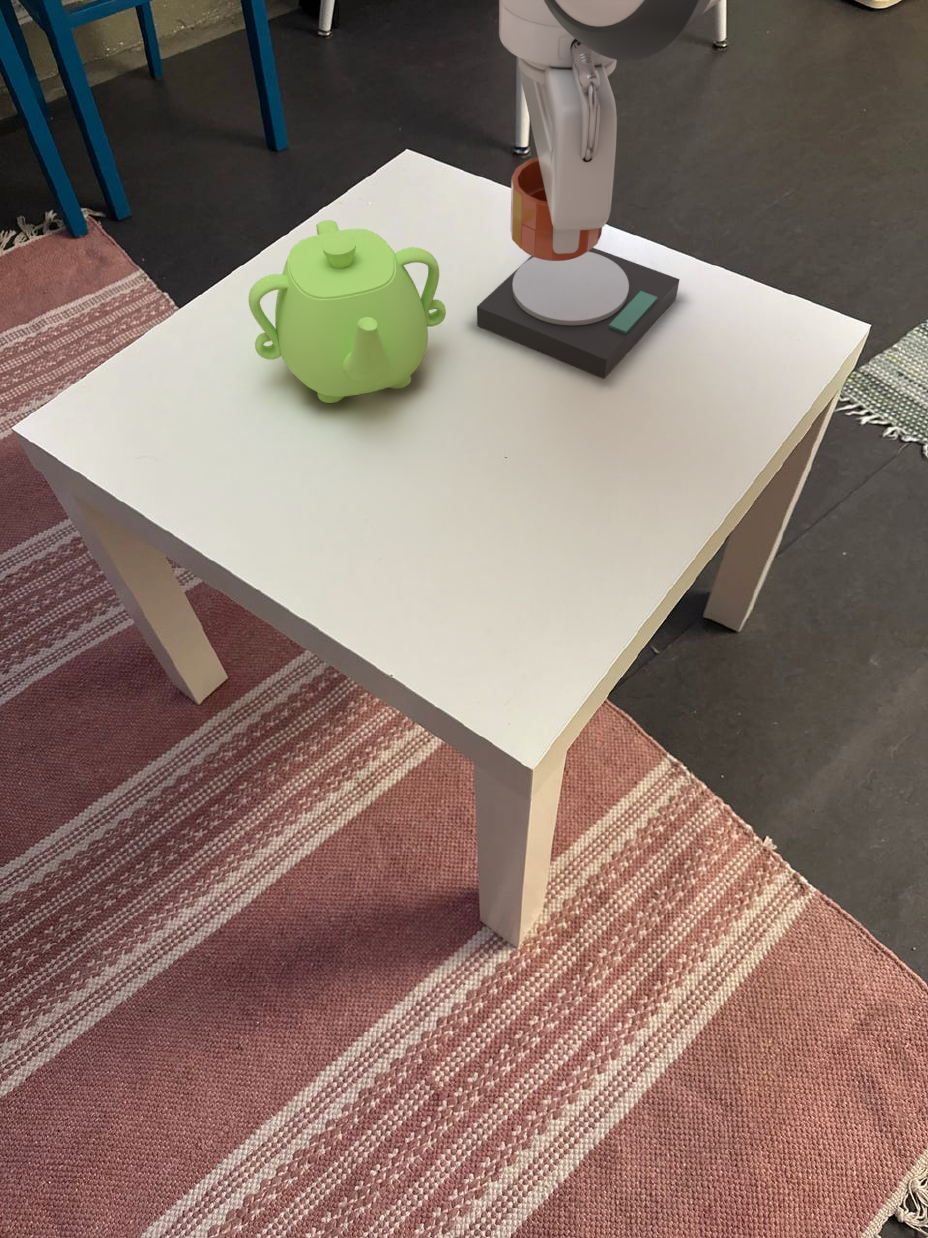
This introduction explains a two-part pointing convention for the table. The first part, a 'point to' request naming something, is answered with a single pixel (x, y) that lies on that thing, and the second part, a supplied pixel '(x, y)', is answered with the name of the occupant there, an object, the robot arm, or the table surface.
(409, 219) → the table surface
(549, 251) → the orange cup
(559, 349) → the scale
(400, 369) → the teapot
